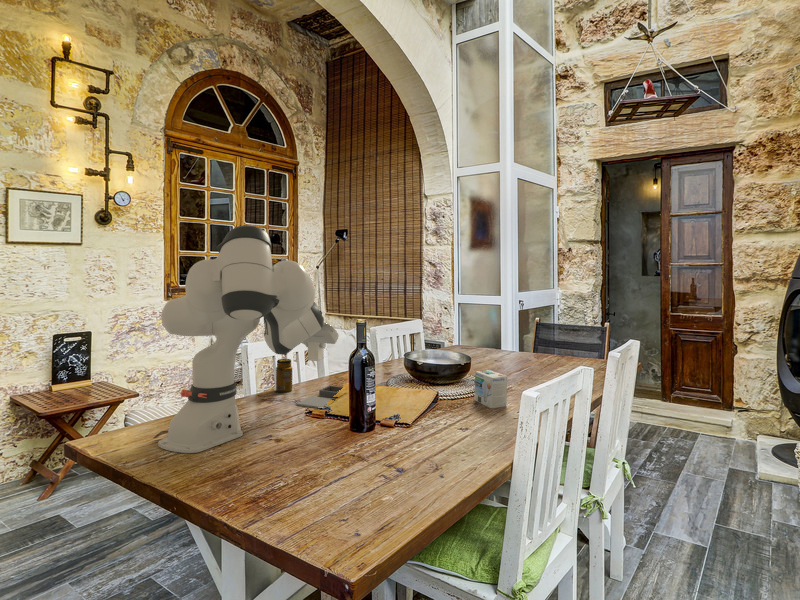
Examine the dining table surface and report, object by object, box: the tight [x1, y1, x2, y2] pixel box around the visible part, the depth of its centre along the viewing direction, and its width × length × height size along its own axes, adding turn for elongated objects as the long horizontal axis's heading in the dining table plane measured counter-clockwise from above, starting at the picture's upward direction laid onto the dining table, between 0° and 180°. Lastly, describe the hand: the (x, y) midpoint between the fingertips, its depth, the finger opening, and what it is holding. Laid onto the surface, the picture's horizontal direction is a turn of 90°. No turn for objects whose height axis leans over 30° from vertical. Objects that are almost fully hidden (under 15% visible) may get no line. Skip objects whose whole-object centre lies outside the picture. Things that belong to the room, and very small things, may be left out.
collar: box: [318, 385, 344, 398], centre depth 177 cm, size 8×8×2 cm
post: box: [307, 342, 325, 362], centre depth 167 cm, size 4×4×8 cm
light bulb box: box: [473, 369, 508, 409], centre depth 168 cm, size 11×7×11 cm, turn 25°
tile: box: [295, 395, 332, 409], centre depth 166 cm, size 10×10×1 cm
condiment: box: [273, 358, 295, 395], centre depth 180 cm, size 7×8×12 cm
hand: (316, 346), depth 167 cm, fingers closed on post, 4 cm apart
